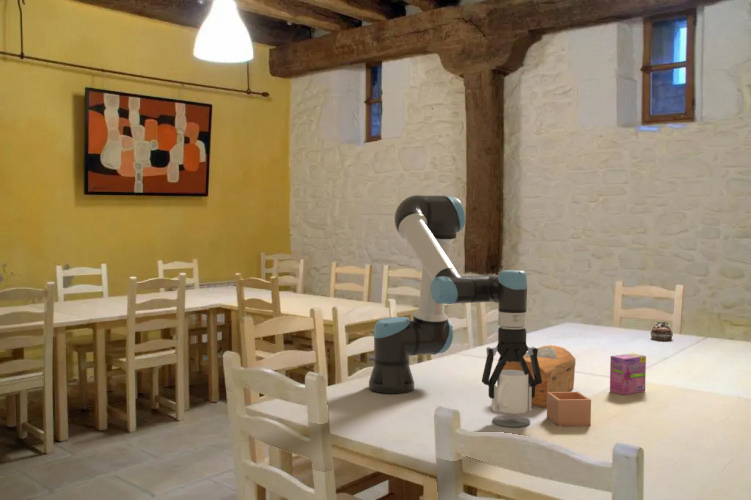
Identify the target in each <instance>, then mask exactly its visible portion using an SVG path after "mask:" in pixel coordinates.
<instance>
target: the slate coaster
mask: <svg viewBox="0 0 751 500" xmlns="http://www.w3.org/2000/svg"><path fill="white" fill-rule="evenodd" d="M492 423H493V424H494V425H496V426H499V427H503V428H510V429H511V428H512V429H515V428H518V429H519V428H524V427H528V426H530V425H531V420H530V419H529V418H527V417H525V416H520V415H515V414H504V415H501V414H500V415H496V416H494V417H493V418H492Z"/></svg>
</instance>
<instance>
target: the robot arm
mask: <svg viewBox="0 0 751 500" xmlns="http://www.w3.org/2000/svg"><path fill="white" fill-rule="evenodd" d="M465 223H466V212H465V209H464V206H463V204H462V202H461V200H460V199H459V198H457V197H455V196H450V195H449V196H448V195H420V194H419V195H417V194H416V195H412V196H408V197H406V198H405V199H404V200H402V201H401V202H400V203H399V205H398V206H397V208H396V210H395V213H394V226H395V228H396V231H397V232H398V234H399V236H400V237H401V238H403V239H405V240H406V241H407V242H408V244H409V246H410V247H411V249H412V250H413V252H414V253H415V255H416V257H417V258H418V260H419V263H420V264H421V265H422V267H421V268H422V269H421V281H420V283H421V284H420V290H419V291H420V293H419V302H418V309H417V310H416V311H415V312H414V313H413V318H412V320H410V318H409V317H407V316H392V317H385V318H383V319H379V320H378V321H376V322H375V324H374V333H373V340H374V341H373V342H374V345H373V349H374V351H373V353H374V354H373V357H374V358H373V363H374V364H373V367H372V371H371V374H370V377H369V380H368V389H369V391H372V392H376V393H380V394H381V393H383V394H402V393H403V394H404V393H408V392H411V391H414V390H415V380H414V377H413V374H412V370H411V367H410V356H413V357H414V356H423V355H424V356H425V355H426V356H427V355H437V354H443V353H446V351H448V350H449V349H450V347H451V345H452V343H453V339H454V330H453V328H454V327H453V324H452V322H451V320H449V317H448V315H447V314H446V313H445V305H453V304H454V305H455V304H456V305H457V304H478V303H494V304H495V303H496V304H498V315H497V316H498V319H497V320H498V321H497V323H498V324H497V325H498V326H499V327H498V328H497V329H498V330H497V332H498V333H497V334H498V335H497V345H496V347H489V346H488V347H486V360H485V363H484V369H483V373H482V377H481V382H482V384H484V385H485V386H488V397H489V399H491V409H492V411H494V412H498V408H497V380H498V378H499V376H500V373H501V371H502V369H503V367H504V365H505V364H506V363H507V362H512V361H515V362H519V364H520V366H521V368H522V370H523V372H524V374H525V375H527V374H528V383H529V385H528V410H527V411H530V412H531V411H532V406H531V401H532V398H534V397H535V387H536V385H537V384H541V383H542V379H541V374H540V369H539V364H538V359H537V353H538V349H537V348H538V347H535V346H528V345H527V329H526V328H525V327H526V326H527V306H528V305H527V304H528V303H527V302H528V301H527V300H528V297H527V296H528V283H527V273H526V272H525V271H524V270H521V269H519V270H517V269H516V270H515V269H505V270H504V269H502V270H499V272H498V275H493V274H481V275H464V276H463V275H460V273H459V271H457V269H456V268H455V266H454V264H453V263H452V262H451V260H450V257H451V256H450V255H451V247H452V246H451V244H452V243H453V241H455V240H456V239H457V234H458V233H460V232H461V231H462V230H463V229H464V227H465V225H466V224H465ZM527 352H528V353H529V355H530V358H531V363H532V368H533V373H534V378H535V379H533V377H532V375H531V373H530V371H529V369H528V367H527V364H526V361H525V359H524V357H523V356H524V355H525V353H527ZM496 353H498V354H499V358H498V360H497V363H496V366H495V367H494V370H493V372H492V368H493V363H494V357H495V356H496Z"/></svg>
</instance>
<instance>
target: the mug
mask: <svg viewBox="0 0 751 500" xmlns="http://www.w3.org/2000/svg"><path fill="white" fill-rule="evenodd" d="M496 387H497V411H498V412H500V413H504V414H507V415H521V414H525V413H527V411H529V410H528V374H527V375H525V374H524V372H523V371H519V370H502V371H501V373H500V376H499V378H498V380H497V382H496Z"/></svg>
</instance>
